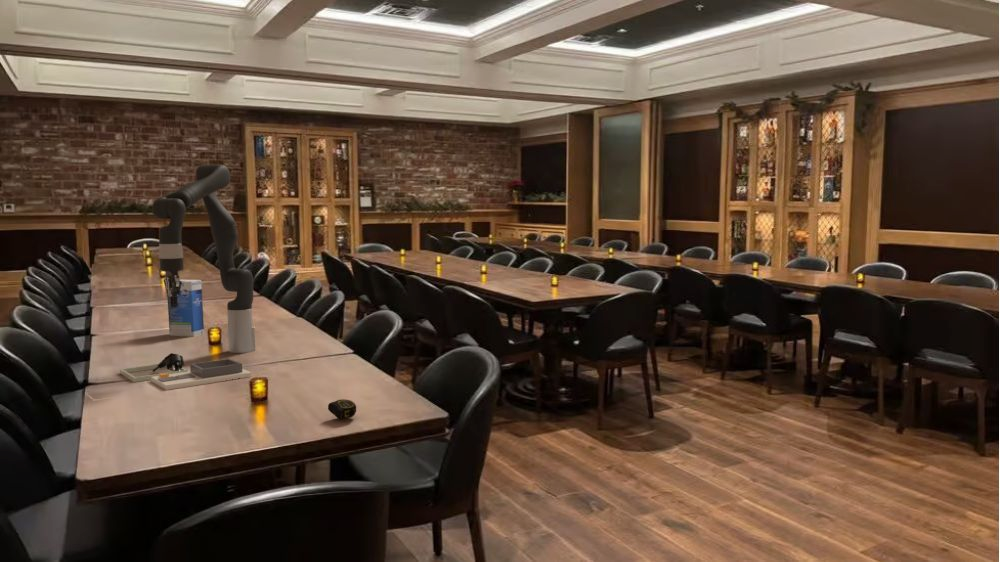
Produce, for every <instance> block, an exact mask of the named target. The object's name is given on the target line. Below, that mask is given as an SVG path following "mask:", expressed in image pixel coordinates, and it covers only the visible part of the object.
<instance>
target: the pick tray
mask: <svg viewBox="0 0 1000 562" xmlns="http://www.w3.org/2000/svg"><path fill="white" fill-rule="evenodd" d="M158 364H159V363H156V364H155V363H154V364H147V365H141V366H140V365H139V366H133V367H128V368H127V367H125V368H120V369H119V374H120V375H122V376H123V377H124V378H127V379H128V380H129V381H131V382H133V383H138V382H145V381H151V377H153V376H159V374H163V373H164V372H161V373H154V374H148V375H141V376H135V375H133V374H132V373H135V372H142V371H149V370H154V369H155V368H157V367H158ZM163 368H167V365H166V366H165V367H163ZM163 368H162V369H163ZM188 371H189V369H187V368H185V367H184V366H183V367H182V368H181V369H180V371H178V370H175V371H169V372H168V371H167V373H168V374H174V373H181V372H188Z"/></svg>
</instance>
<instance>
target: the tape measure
mask: <svg viewBox="0 0 1000 562" xmlns="http://www.w3.org/2000/svg"><path fill="white" fill-rule="evenodd" d="M327 410H328V411H329V412H330V413H331V414H332V415H333V416H334V417H336V419H338V420H344V419H351V418H352V417H354V416H355V415H356V413H357V405H356V403H355V402H354V401H353V400H350V399H343V398H342V399H338V400H334V401H331V402H330V403H328V405H327Z"/></svg>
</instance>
